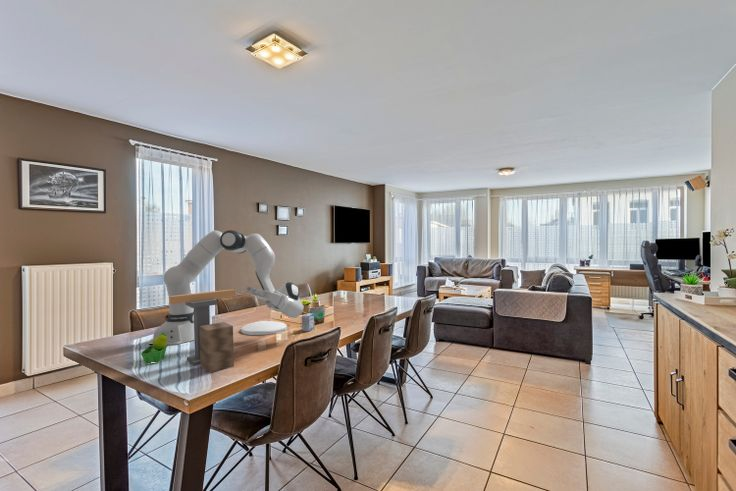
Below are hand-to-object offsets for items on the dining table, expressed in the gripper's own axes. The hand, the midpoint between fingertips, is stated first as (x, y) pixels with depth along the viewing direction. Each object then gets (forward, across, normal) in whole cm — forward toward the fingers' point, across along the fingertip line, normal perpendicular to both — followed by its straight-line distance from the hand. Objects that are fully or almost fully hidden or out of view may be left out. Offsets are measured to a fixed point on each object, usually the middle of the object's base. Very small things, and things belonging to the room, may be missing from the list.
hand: (251, 288), depth 168 cm
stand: (+5, 0, +36) cm, 36 cm away
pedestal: (+3, +12, +35) cm, 37 cm away
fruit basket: (+18, -15, +43) cm, 49 cm away
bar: (+17, 0, +13) cm, 21 cm away
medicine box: (-47, -12, +6) cm, 49 cm away
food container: (-59, -21, -1) cm, 63 cm away
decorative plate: (-32, -31, +15) cm, 47 cm away
